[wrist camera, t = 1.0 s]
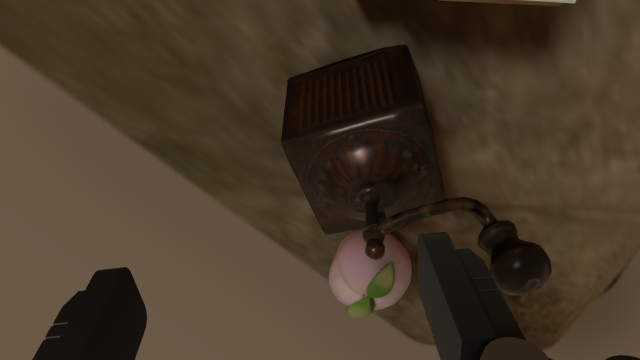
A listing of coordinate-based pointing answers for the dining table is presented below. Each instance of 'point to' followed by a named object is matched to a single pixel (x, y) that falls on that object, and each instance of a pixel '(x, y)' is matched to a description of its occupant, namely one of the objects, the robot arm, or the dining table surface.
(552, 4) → the tower base
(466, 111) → the dining table surface
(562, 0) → the tower top
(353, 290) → the decorative fruit
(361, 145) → the manual coffee grinder
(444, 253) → the robot arm
